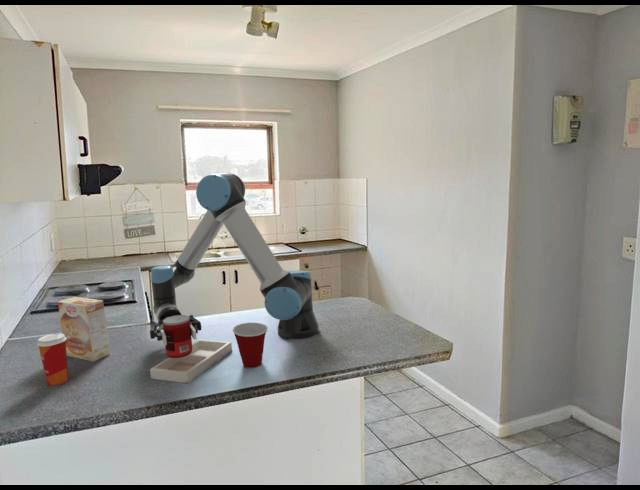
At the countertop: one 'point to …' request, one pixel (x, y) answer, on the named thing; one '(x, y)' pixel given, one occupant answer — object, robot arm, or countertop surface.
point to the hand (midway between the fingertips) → (180, 337)
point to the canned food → (178, 336)
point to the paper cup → (54, 358)
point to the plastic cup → (250, 342)
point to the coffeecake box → (84, 328)
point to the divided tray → (191, 361)
